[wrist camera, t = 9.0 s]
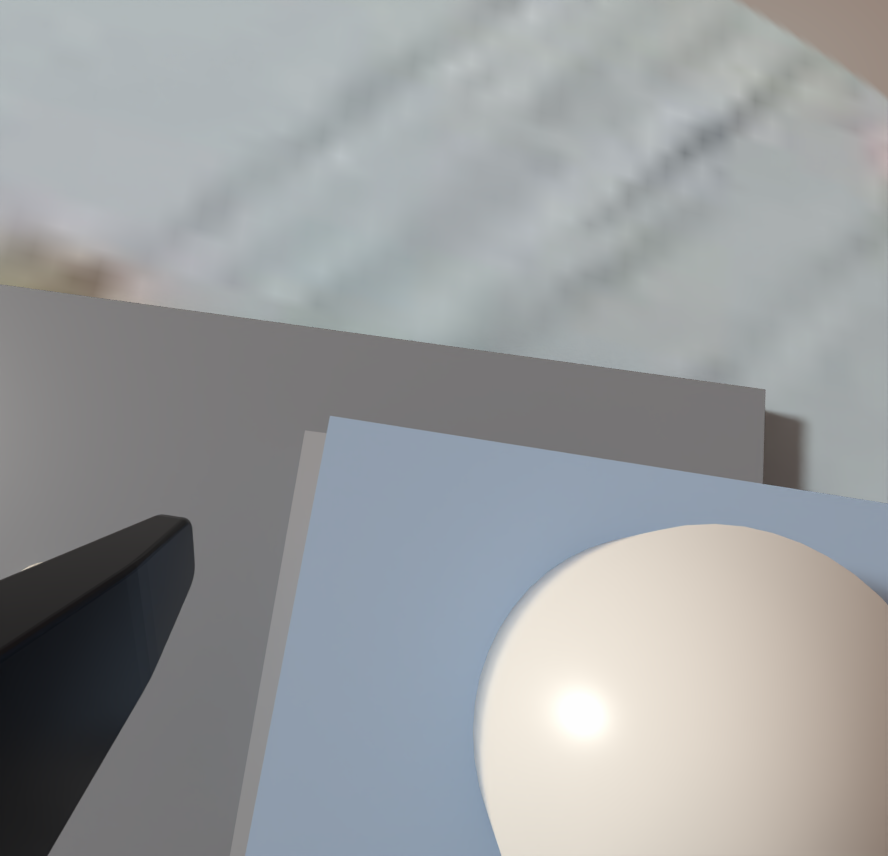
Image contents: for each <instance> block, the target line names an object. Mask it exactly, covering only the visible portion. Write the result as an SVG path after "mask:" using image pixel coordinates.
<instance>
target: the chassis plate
mask: <svg viewBox="0 0 888 856" xmlns="http://www.w3.org/2000/svg"><path fill="white" fill-rule="evenodd" d="M330 416H335V417H342V418H348V419H354V420H361V421H367V422H373V423H380V424H386V425H393V426H399V427H405V428H412V429H418V430H424V431H431V432H437V433H443V434H450V435H456V436H462V437H469V438H475V439H481V440H488V441H494V442H500V443H507V444H513V445H519V446H526V447H532V448H538V449H545V450H551V451H557V452H564V453H570V454H576V455H583V456H589V457H596V458H602V459H608V460H615V461H621V462H627V463H634V464H640V465H646V466H653V467H659V468H665V469H672V470H678V471H684V472H691V473H697V474H703V475H710V476H716V477H722V478H729V479H735V480H741V481H748V482H754V483H760V484H763V461H764V425H765V389H758V388H750V387H743V386H736V385H729V384H721V383H714V382H707V381H699V380H692V379H685V378H678V377H670V376H663V375H656V374H648V373H641V372H634V371H627V370H619V369H612V368H605V367H598V366H590V365H583V364H576V363H568V362H561V361H554V360H547V359H539V358H532V357H525V356H517V355H510V354H503V353H496V352H488V351H481V350H474V349H467V348H459V347H452V346H445V345H437V344H430V343H423V342H416V341H408V340H401V339H394V338H386V337H379V336H372V335H365V334H357V333H350V332H343V331H336V330H328V329H321V328H314V327H306V326H299V325H292V324H285V323H277V322H270V321H263V320H255V319H248V318H241V317H234V316H226V315H219V314H212V313H205V312H197V311H190V310H183V309H175V308H168V307H161V306H154V305H146V304H139V303H132V302H124V301H117V300H110V299H103V298H95V297H88V296H81V295H74V294H66V293H59V292H52V291H44V290H37V289H30V288H23V287H15V286H8V285H1V284H0V580H1V579H4V578H6V577H8V576H11V575H13V574H16V573H18V572H21V571H23V570H25V569H28V568H30V567H33V566H35V565H37V564H40V563H42V562H45V561H47V560H49V559H52V558H54V557H57V556H59V555H62V554H64V553H66V552H69V551H71V550H74V549H76V548H78V547H81V546H83V545H86V544H88V543H90V542H93V541H95V540H98V539H100V538H102V537H105V536H107V535H110V534H112V533H115V532H117V531H119V530H122V529H124V528H127V527H129V526H131V525H134V524H136V523H139V522H141V521H143V520H146V519H148V518H151V517H153V516H156V515H160V514H165V515H171V516H178V517H184V518H187V519H188V520H189V521H190V522H191V524H192V528H193V542H194V556H195V573H194V578H193V581H192V585H191V587H190V590H189V592H188V594H187V597H186V599H185V601H184V604H183V606H182V608H181V611H180V613H179V615H178V618H177V620H176V622H175V625H174V627H173V629H172V632H171V634H170V636H169V639H168V641H167V643H166V646H165V648H164V650H163V653H162V655H161V657H160V659H159V662H158V664H157V666H156V668H155V671H154V673H153V675H152V677H151V679H150V681H149V683H148V684H147V686H146V688H145V690H144V692H143V694H142V695H141V697H140V699H139V700H138V702H137V704H136V706H135V707H134V709H133V711H132V712H131V714H130V716H129V718H128V719H127V721H126V723H125V724H124V726H123V728H122V730H121V731H120V733H119V735H118V736H117V738H116V740H115V742H114V743H113V745H112V747H111V748H110V750H109V752H108V754H107V755H106V757H105V759H104V760H103V762H102V764H101V765H100V767H99V769H98V771H97V772H96V774H95V776H94V777H93V779H92V781H91V783H90V784H89V786H88V788H87V789H86V791H85V793H84V795H83V796H82V798H81V800H80V801H79V803H78V805H77V807H76V808H75V810H74V812H73V813H72V815H71V817H70V819H69V820H68V822H67V824H66V825H65V827H64V829H63V830H62V832H61V834H60V836H59V837H58V839H57V841H56V842H55V844H54V846H53V848H52V849H51V851H50V853H49V854H48V856H245V853H246V848H247V843H248V838H249V833H250V828H251V822H252V817H253V812H254V807H255V802H256V796H257V791H258V786H259V781H260V776H261V771H262V765H263V760H264V755H265V750H266V745H267V739H268V734H269V729H270V724H271V719H272V714H273V708H274V703H275V698H276V693H277V688H278V682H279V677H280V672H281V667H282V662H283V657H284V651H285V646H286V641H287V636H288V631H289V625H290V620H291V615H292V610H293V605H294V600H295V594H296V589H297V584H298V579H299V574H300V568H301V563H302V558H303V553H304V548H305V543H306V537H307V532H308V527H309V522H310V517H311V511H312V506H313V501H314V496H315V491H316V486H317V480H318V475H319V470H320V465H321V460H322V454H323V449H324V444H325V439H326V434H327V429H328V423H329V418H330Z"/></svg>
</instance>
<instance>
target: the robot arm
mask: <svg viewBox="0 0 888 856" xmlns="http://www.w3.org/2000/svg"><path fill="white" fill-rule="evenodd" d="M194 573H195V556H194V542H193V528H192V524H191V522H190V521H189V520H188V519H187V518H184V517H178V516H171V515H165V514H160V515H156V516H153V517H151V518H148V519H146V520H143V521H141V522H139V523H136V524H134V525H131V526H129V527H127V528H124V529H122V530H119V531H117V532H115V533H112V534H110V535H107V536H105V537H102V538H100V539H98V540H95V541H93V542H90V543H88V544H86V545H83V546H81V547H78V548H76V549H74V550H71V551H69V552H66V553H64V554H62V555H59V556H57V557H54V558H52V559H49V560H47V561H45V562H42V563H40V564H37V565H35V566H33V567H30V568H28V569H25V570H23V571H21V572H18V573H16V574H13V575H11V576H8V577H6V578H4V579H1V580H0V856H48V854H49V853H50V851H51V849H52V848H53V846H54V844H55V842H56V841H57V839H58V837H59V836H60V834H61V832H62V830H63V829H64V827H65V825H66V824H67V822H68V820H69V819H70V817H71V815H72V813H73V812H74V810H75V808H76V807H77V805H78V803H79V801H80V800H81V798H82V796H83V795H84V793H85V791H86V789H87V788H88V786H89V784H90V783H91V781H92V779H93V777H94V776H95V774H96V772H97V771H98V769H99V767H100V765H101V764H102V762H103V760H104V759H105V757H106V755H107V754H108V752H109V750H110V748H111V747H112V745H113V743H114V742H115V740H116V738H117V736H118V735H119V733H120V731H121V730H122V728H123V726H124V724H125V723H126V721H127V719H128V718H129V716H130V714H131V712H132V711H133V709H134V707H135V706H136V704H137V702H138V700H139V699H140V697H141V695H142V694H143V692H144V690H145V688H146V686H147V684H148V683H149V681H150V679H151V677H152V675H153V673H154V671H155V668H156V666H157V664H158V662H159V659H160V657H161V655H162V653H163V650H164V648H165V646H166V643H167V641H168V639H169V636H170V634H171V632H172V629H173V627H174V625H175V622H176V620H177V618H178V615H179V613H180V611H181V608H182V606H183V604H184V601H185V599H186V597H187V594H188V592H189V590H190V587H191V585H192V581H193V578H194Z"/></svg>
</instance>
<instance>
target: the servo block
mask: <svg viewBox="0 0 888 856" xmlns="http://www.w3.org/2000/svg"><path fill="white" fill-rule="evenodd" d="M245 856H888V504H887V503H881V502H875V501H868V500H862V499H856V498H849V497H843V496H837V495H830V494H824V493H818V492H811V491H805V490H799V489H792V488H786V487H780V486H773V485H767V484H760V483H754V482H748V481H741V480H735V479H729V478H722V477H716V476H710V475H703V474H697V473H691V472H684V471H678V470H672V469H665V468H659V467H653V466H646V465H640V464H634V463H627V462H621V461H615V460H608V459H602V458H596V457H589V456H583V455H576V454H570V453H564V452H557V451H551V450H545V449H538V448H532V447H526V446H519V445H513V444H507V443H500V442H494V441H488V440H481V439H475V438H469V437H462V436H456V435H450V434H443V433H437V432H431V431H424V430H418V429H412V428H405V427H399V426H393V425H386V424H380V423H373V422H367V421H361V420H354V419H348V418H342V417H335V416H330V418H329V423H328V429H327V434H326V439H325V444H324V449H323V454H322V460H321V465H320V470H319V475H318V480H317V486H316V491H315V496H314V501H313V506H312V511H311V517H310V522H309V527H308V532H307V537H306V543H305V548H304V553H303V558H302V563H301V568H300V574H299V579H298V584H297V589H296V594H295V600H294V605H293V610H292V615H291V620H290V625H289V631H288V636H287V641H286V646H285V651H284V657H283V662H282V667H281V672H280V677H279V682H278V688H277V693H276V698H275V703H274V708H273V714H272V719H271V724H270V729H269V734H268V739H267V745H266V750H265V755H264V760H263V765H262V771H261V776H260V781H259V786H258V791H257V796H256V802H255V807H254V812H253V817H252V822H251V828H250V833H249V838H248V843H247V848H246V853H245Z"/></svg>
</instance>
